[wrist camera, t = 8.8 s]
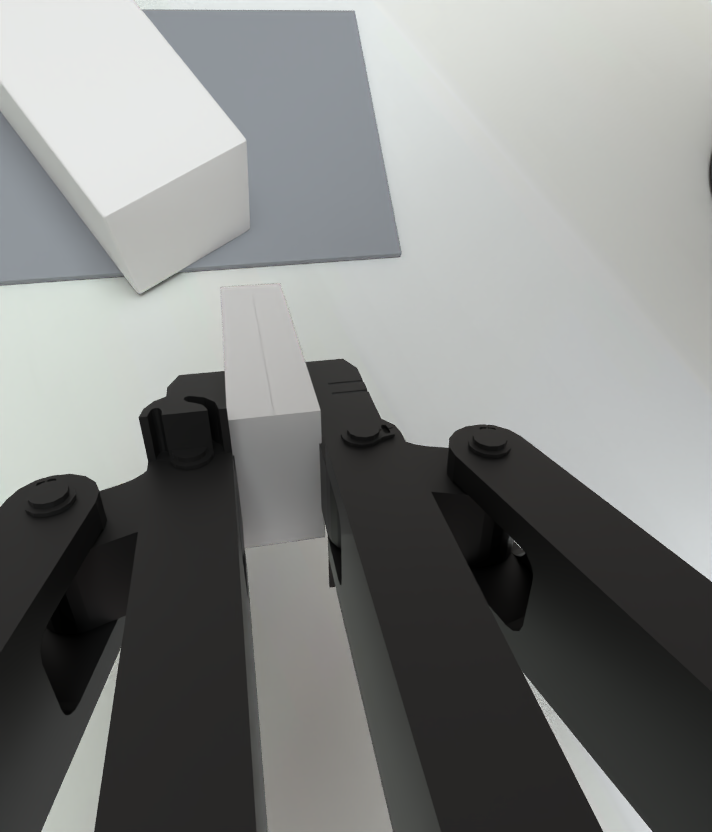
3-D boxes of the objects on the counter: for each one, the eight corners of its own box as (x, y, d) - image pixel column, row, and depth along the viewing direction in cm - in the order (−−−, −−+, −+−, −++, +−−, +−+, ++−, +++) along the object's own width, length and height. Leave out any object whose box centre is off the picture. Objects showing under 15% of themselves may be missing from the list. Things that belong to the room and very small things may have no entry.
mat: (353, 16, 38) (354, 10, 38) (399, 256, 34) (401, 252, 34) (-23, 14, 34) (-26, 8, 34) (-18, 286, 30) (-22, 282, 30)
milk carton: (140, 298, 31) (-57, 36, 33) (253, 231, 33) (60, -13, 35) (105, 221, 24) (-140, -103, 26) (250, 142, 26) (11, -154, 28)
